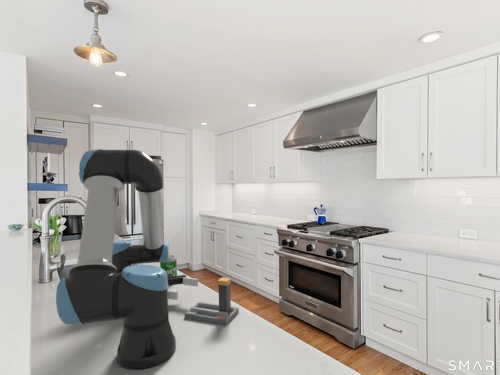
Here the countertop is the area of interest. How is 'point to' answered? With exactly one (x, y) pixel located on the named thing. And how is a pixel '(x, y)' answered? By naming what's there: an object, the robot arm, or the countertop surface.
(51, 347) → the countertop surface
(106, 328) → the countertop surface
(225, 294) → the breaker handle
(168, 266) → the soda can
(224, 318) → the grey base
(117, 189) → the robot arm
